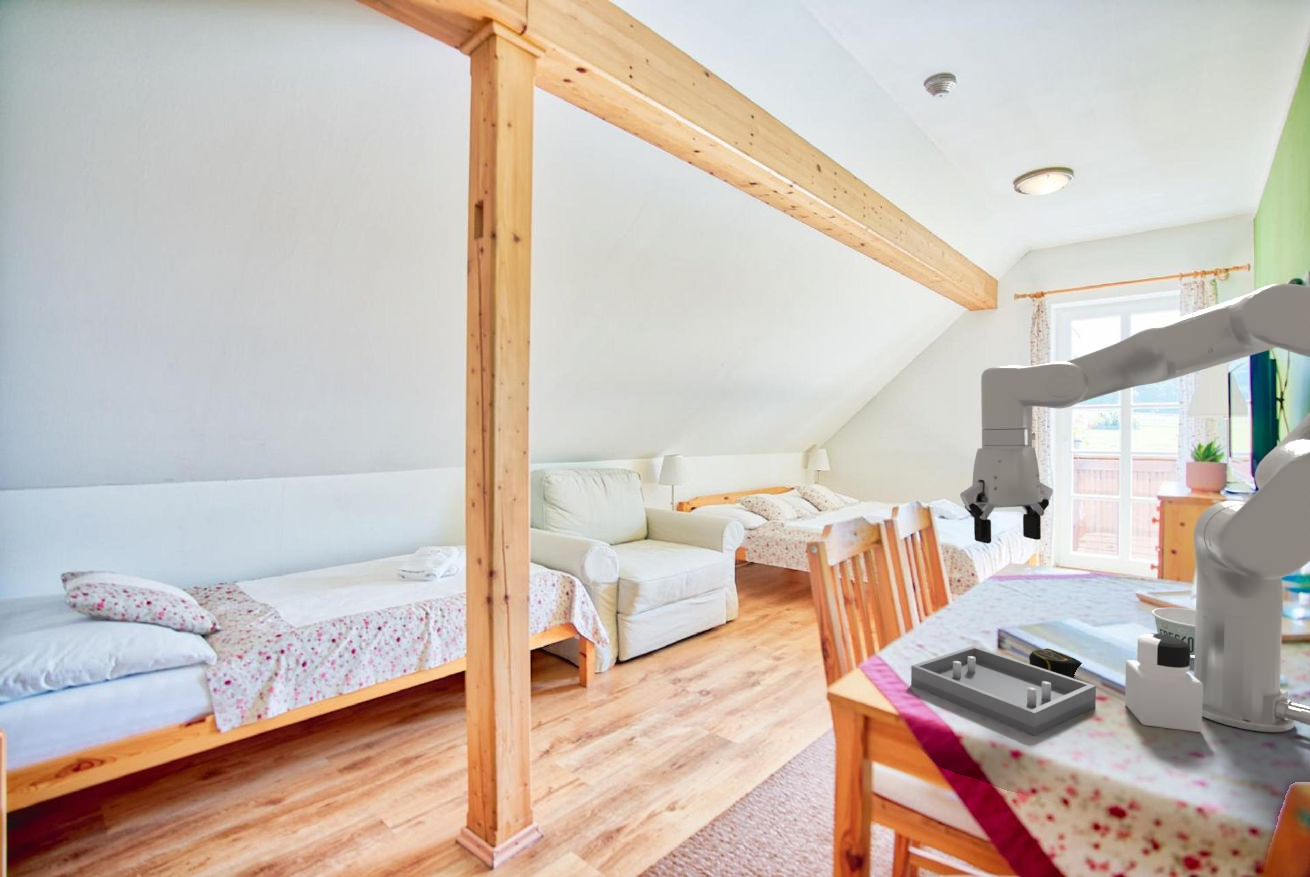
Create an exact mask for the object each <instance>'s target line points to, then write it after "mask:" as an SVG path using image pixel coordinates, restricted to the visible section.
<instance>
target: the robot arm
mask: <svg viewBox="0 0 1310 877" xmlns="http://www.w3.org/2000/svg"><path fill="white" fill-rule="evenodd" d="M1276 348H1278V349H1281V350H1284V351H1288V352H1292V353H1293V354H1297V355H1301V356H1303V357H1306V358H1310V286H1306V285H1301V284H1296V283H1274V284H1270V285H1267V286H1264V287H1261V288H1258V289H1256V290H1254V291H1252V292H1250V293H1248V294H1246V295H1243V296H1240V297H1237V298H1233V299H1232V300H1228V301H1225V302H1223V303H1220V304H1219V303H1218V304H1216V305H1214V306H1210V307H1208V308H1205V309H1201V310H1198V311H1196V312H1193V313H1190V314H1186V315H1184V316H1181V317H1178V318H1175V319H1172V320H1168V321H1166V322H1162V323H1159V324H1156V325H1153V326H1151V327H1149V328H1145V329H1144V330H1141V331H1139V332H1136V333H1134V334H1132V335H1131V336H1129V337H1127V338H1124V339H1123V340H1121V341H1118V342H1116V343H1114V344H1111V345H1110V346H1106V347H1103V348H1101V349H1099V350H1095V351H1092V352H1089V353H1087V354H1084V355H1080V356H1078V357H1075V358H1071V359H1068V360H1067V361H1055V362H1053V361H1052V362H1049V363H1043V364H1042V363H1041V364H1037V365H1036V364H1035V365H1029V366H1022V365H1008V366H1007V365H1006V366H1005V365H1004V366H995V367H994V366H992V367H989V368H987V369H984V370H983V372H982V374H981V379H980V382H981V383H980V385H981V386H980V390H981V391H980V392H981V395H980V397H981V400H980V401H981V402H980V403H981V405H980V406H981V447H978V448H977V449H976V454H975V459H974V464H973V473H972V485H971V486H969V487H968V488H967V489H965V490H964V491H962V492H961V493H960V499H961V501H962V503H963V504H964V509H965V510H966V511H967V512H968V513H969V514H970V517H971V518H973V522H974V523H973V526H974V527H973V529H974V530H973V534H974V540H975V542H979V543H983V544H991V543H992V521H991V519H989V516H990V515H991V513H992V512H993V511H994V509H995V508H997V509H998V508H999V509H1000V508H1015V507H1021V508H1022V509H1023V510H1024V511H1025V512H1026V513H1023V515H1022V534H1023V535H1022V536H1023V537H1024V538H1028V539H1032V540H1035V541H1037V540H1041V538H1042V536H1041V534H1042V533H1041V532H1042V530H1041V529H1042V528H1041V524H1042V523H1041V520H1042V518H1041V517H1043V516H1044V515H1045V510H1046V509H1047V507H1048V506H1049V505H1050V500H1051V498H1052V495H1053V493H1054V489H1053V488H1051V487H1049V485H1048V486H1047V485H1046V484H1044V483H1042V482H1040V481H1041V480H1040V471H1039V463H1038V462H1039V461H1038V458H1037V453H1036V449H1035V447H1033V441H1034V440H1035V439H1036V436H1037V435H1036V433H1035V432H1033V407H1036V408H1037V407H1039V408H1049V409H1067V408H1071V407H1074V406H1076V405H1077V404H1079V403H1082V402H1087V401H1090V400H1092V399H1096V398H1098V397H1099V398H1100V397H1102V396H1105V395H1108V394H1109V395H1110V394H1113V393H1115V392H1119V391H1123V390H1127V389H1131V388H1135V387H1140V386H1146V385H1153V384H1157V383H1162V382H1165V381H1169V380H1173V379H1176V378H1180V377H1183V376H1186V375H1190V374H1192V373H1193V374H1194V373H1196V372H1200V371H1203V370H1206V369H1209V368H1213V367H1216V366H1219V365H1222V364H1226V363H1230V362H1233V361H1236V360H1241V359H1242V358H1243V359H1244V358H1247V357H1250V356H1253V355H1256V354H1260V353H1263V352H1267V351H1270V350H1273V349H1276ZM1254 481H1255V484H1256V487H1257V488H1258V490H1257V491H1256V492H1255V493H1254V494H1253V495H1252V496H1251V497H1249V499H1247V501H1245V500H1226V501H1221V502H1218V503H1214V504H1212V505H1210V506H1209V507H1208V508H1206V509H1205V510H1203V512H1202V513H1201V514H1200V515H1199V517H1198V518H1197V520H1196V523H1195V526H1194V530H1193V548H1194V559H1195V571H1196V572H1195V576H1196V578H1195V579H1196V580H1195V581H1196V583H1195V584H1196V589H1195V593H1196V594H1195V610H1196V623H1195V659H1194V663H1193V664H1194V667H1193V668H1194V669H1193V672H1194V673H1193V676H1194V677H1195V678H1196V679H1198V680H1199V681H1200V682H1201V683H1202V684H1203V704H1202V718H1205V719H1207V720H1210V721H1213V722H1216V723H1219V724H1222V725H1226V726H1229V727H1235V728H1237V729H1243V730H1249V731H1255V732H1264V733H1283V732H1288V731H1290V730H1293V728H1294V726H1295V722H1298V723H1300V724H1302V725H1303V724H1304V725H1305V726H1310V706H1308V705H1304V704H1298V703H1295V702H1293V701H1292V700H1291V699H1289V697H1288V696H1289V695H1288V690H1286V689H1283V688H1281V672H1282V671H1281V667H1282V637H1283V636H1282V635H1283V634H1282V633H1283V614H1284V596H1283V595H1284V591H1283V580H1282V579H1283V578H1285V577H1288V576H1290V575H1292V574H1294V573H1295V572H1297V571H1299V570H1300V569H1302V568H1303V567H1304V566H1306V565H1307V564H1308V563H1310V411H1309V412H1308V413H1307V415H1306V416H1305V417H1304V418H1303V419H1302V420H1301V421H1300V422H1299V423H1298V424H1297V425H1296V426H1295V427H1294V428H1293V429H1292V430H1291V431H1290V432H1289V433H1288V434H1287V435H1286V437H1284V438H1283V439H1282V440H1281V441H1280V442H1279V443H1278V444H1277V445H1276V446H1275V447H1274V448H1273V449H1272V450H1270V451H1269V452H1268V453H1267V454H1266V455H1265V456H1264V457H1263V458H1262V460H1261V461H1260V462H1259V463H1258V465H1257V467H1256V469H1255V472H1254Z"/></svg>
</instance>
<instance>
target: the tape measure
mask: <svg viewBox="0 0 1310 877" xmlns="http://www.w3.org/2000/svg"><path fill="white" fill-rule="evenodd" d="M1028 660H1029V664H1030V665H1033V666H1037V667H1040V668H1043V669H1046V670H1049V671H1052V672H1055V673H1058V674H1061V675H1064V676H1067V677H1070V678H1074V679H1075V677H1074V676H1075V675H1074V674H1075V672H1076V670H1077V668H1078V667H1079V666H1080V665H1081V664H1083V663H1082V661H1079V660H1078V659H1077V658H1074V657H1072V656H1070V655H1067V654H1065V653H1062V652H1060V651H1056V650H1054V649H1051V648H1044V649H1041V648H1040V649H1034V650H1032V651H1031V653H1030V654H1029V657H1028Z"/></svg>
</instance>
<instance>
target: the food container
mask: <svg viewBox="0 0 1310 877" xmlns="http://www.w3.org/2000/svg"><path fill="white" fill-rule="evenodd" d="M1151 615H1152V616H1153V617H1154V621H1155V627H1156V631H1157V634H1163V635H1169V636H1173V637H1176V638H1178V639H1180V640H1182V641H1184V642H1186V643H1187V644H1188V645H1189V646H1190V655H1195V623H1196V609H1189V608H1182V607H1181V608H1180V607H1159V608H1155V609H1153V610H1151Z"/></svg>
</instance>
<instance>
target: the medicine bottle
mask: <svg viewBox="0 0 1310 877" xmlns="http://www.w3.org/2000/svg"><path fill="white" fill-rule="evenodd" d="M1136 656H1137V657H1136V660H1134V659H1127V660H1126V661H1125V682H1124V683H1125V688H1124V690H1125V691H1124V696H1125V697H1124V704H1125V706H1126V707H1127V709H1128V710H1130V712H1131V713H1132V714H1133V715H1134V716H1135V718H1136V719H1137V720H1138V721H1139V722H1140V724H1141V725H1143V726H1147V727H1156V728H1162V729H1170V730H1179V731H1186V732H1188V731H1189V732H1196V733H1201V732H1202V731H1203V717H1202V704H1203V684H1202V683H1201V682H1200V681H1199V680H1198V679H1196V678H1195V677H1194V674H1192V673H1191V672H1190V668H1191V667H1190V666H1191V664H1190V661H1191V658H1190V646H1189V645H1188V644H1187V643H1186V642H1184V641H1182V640H1180V639H1178V638H1176V637H1173V636H1169V635H1163V634H1158V633H1146V634H1141V635H1139V636H1138V637H1137V654H1136Z"/></svg>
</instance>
